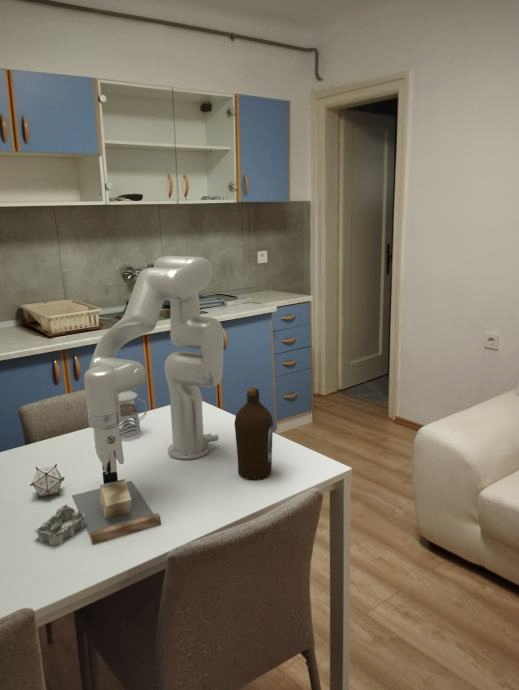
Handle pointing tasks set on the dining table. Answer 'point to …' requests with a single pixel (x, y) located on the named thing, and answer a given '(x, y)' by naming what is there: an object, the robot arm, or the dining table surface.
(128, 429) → the french press
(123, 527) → the rail
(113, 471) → the robot arm
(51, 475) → the game die
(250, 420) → the olive oil
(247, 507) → the dining table surface
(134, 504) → the grey rectangular board
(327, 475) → the dining table surface
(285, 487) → the dining table surface
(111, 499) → the block
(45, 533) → the carved stone fragment
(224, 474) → the dining table surface
